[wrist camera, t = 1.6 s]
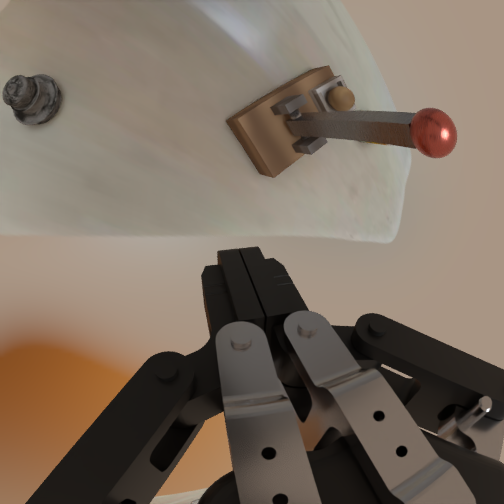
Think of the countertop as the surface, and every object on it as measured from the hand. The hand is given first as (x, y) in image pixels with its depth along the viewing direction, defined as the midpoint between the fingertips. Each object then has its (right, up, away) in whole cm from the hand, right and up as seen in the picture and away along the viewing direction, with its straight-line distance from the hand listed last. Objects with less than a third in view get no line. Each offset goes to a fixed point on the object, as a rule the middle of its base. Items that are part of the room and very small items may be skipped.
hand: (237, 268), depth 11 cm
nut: (+12, +22, +23) cm, 34 cm away
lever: (+6, +16, +22) cm, 28 cm away
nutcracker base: (+6, +20, +27) cm, 34 cm away
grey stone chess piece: (-24, +18, +12) cm, 33 cm away
